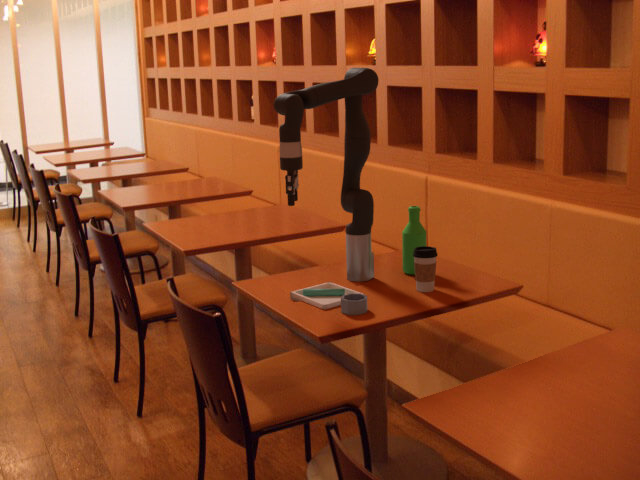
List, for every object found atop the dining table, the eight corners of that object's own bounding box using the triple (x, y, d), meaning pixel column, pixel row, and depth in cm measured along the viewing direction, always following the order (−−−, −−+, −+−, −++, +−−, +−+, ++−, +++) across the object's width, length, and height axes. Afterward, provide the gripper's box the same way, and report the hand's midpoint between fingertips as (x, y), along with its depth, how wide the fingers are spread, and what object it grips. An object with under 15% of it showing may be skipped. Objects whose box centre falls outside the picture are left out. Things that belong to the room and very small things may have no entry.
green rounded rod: (344, 296, 266) (303, 297, 267) (344, 290, 267) (303, 290, 268) (344, 294, 264) (302, 294, 265) (344, 287, 265) (303, 287, 266)
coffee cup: (422, 294, 266) (422, 252, 263) (408, 288, 274) (407, 246, 270) (442, 290, 270) (442, 248, 267) (428, 284, 277) (428, 243, 274)
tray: (330, 288, 277) (329, 281, 276) (364, 301, 262) (364, 294, 261) (290, 298, 267) (290, 291, 266) (324, 312, 252) (323, 305, 252)
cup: (356, 307, 256) (355, 291, 254) (372, 314, 249) (372, 297, 248) (336, 313, 251) (336, 297, 250) (352, 319, 245) (352, 303, 243)
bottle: (426, 269, 297) (426, 204, 291) (426, 275, 288) (426, 208, 282) (402, 269, 298) (402, 204, 292) (402, 275, 289) (402, 209, 283)
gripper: (299, 157, 253) (301, 207, 257) (304, 152, 267) (306, 199, 270) (276, 158, 254) (278, 207, 257) (282, 152, 267) (284, 199, 271)
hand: (292, 203), depth 264 cm, fingers open, 8 cm apart
